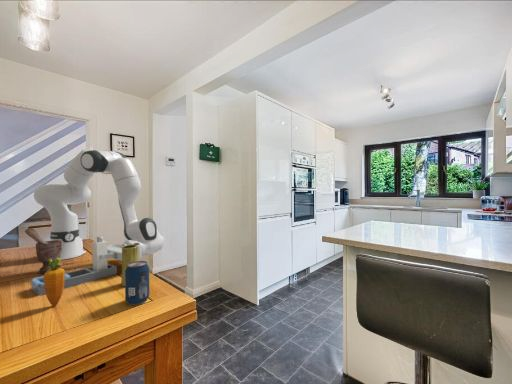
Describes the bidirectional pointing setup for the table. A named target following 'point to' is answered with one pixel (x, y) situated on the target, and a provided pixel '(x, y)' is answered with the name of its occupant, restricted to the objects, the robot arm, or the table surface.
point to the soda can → (137, 282)
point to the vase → (128, 258)
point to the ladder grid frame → (75, 278)
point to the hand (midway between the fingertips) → (97, 256)
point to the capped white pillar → (98, 250)
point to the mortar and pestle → (45, 250)
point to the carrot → (54, 282)
